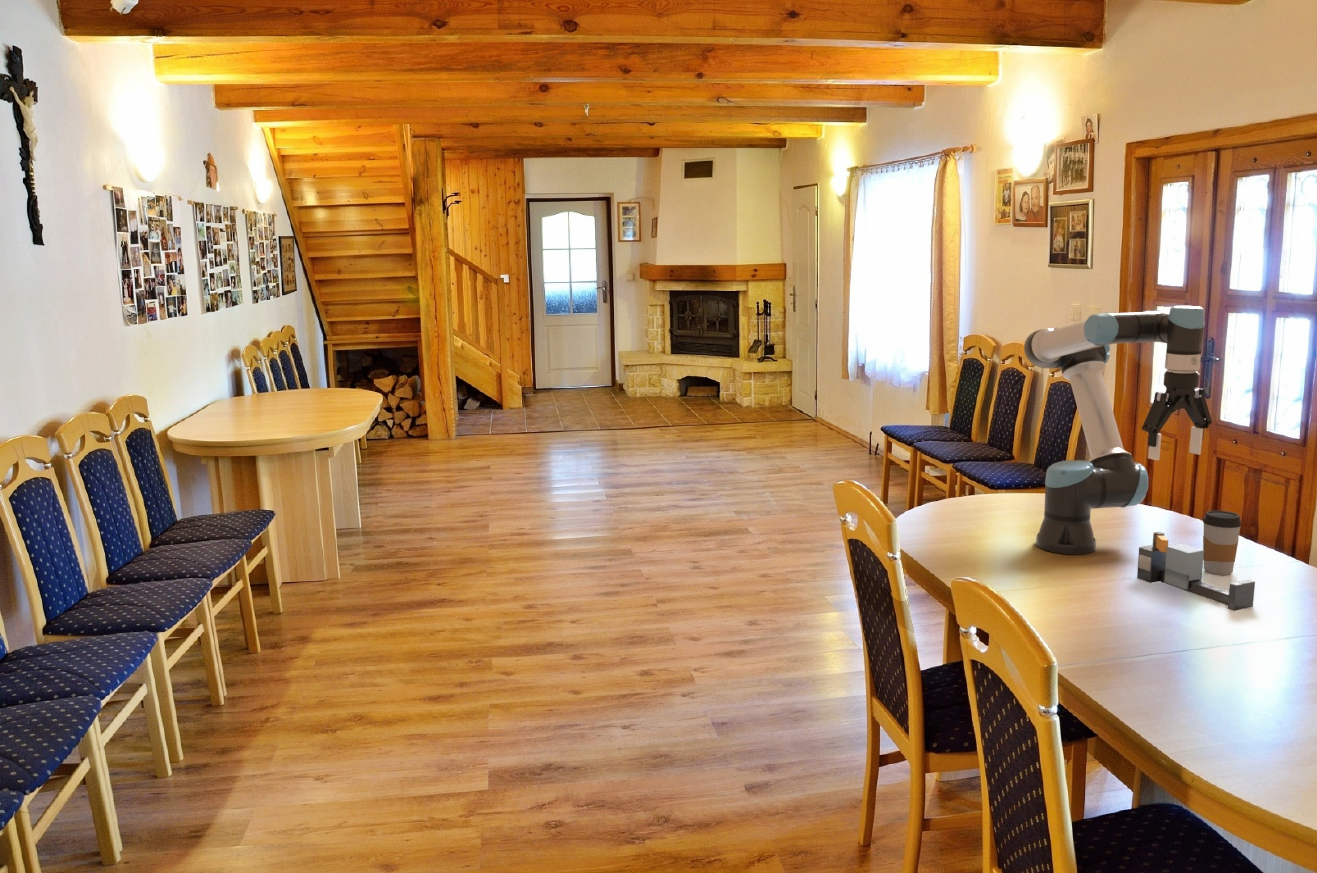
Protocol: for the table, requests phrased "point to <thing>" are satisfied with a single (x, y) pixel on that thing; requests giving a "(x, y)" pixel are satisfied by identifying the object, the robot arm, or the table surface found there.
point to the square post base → (1241, 595)
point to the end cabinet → (1151, 564)
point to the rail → (1204, 590)
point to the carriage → (1183, 565)
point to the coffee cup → (1220, 542)
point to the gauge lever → (1160, 541)
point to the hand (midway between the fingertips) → (1174, 456)
